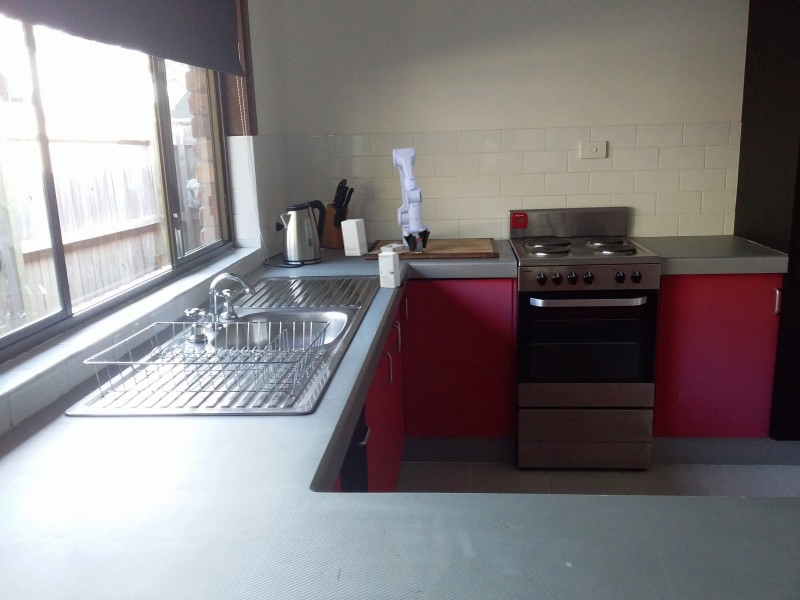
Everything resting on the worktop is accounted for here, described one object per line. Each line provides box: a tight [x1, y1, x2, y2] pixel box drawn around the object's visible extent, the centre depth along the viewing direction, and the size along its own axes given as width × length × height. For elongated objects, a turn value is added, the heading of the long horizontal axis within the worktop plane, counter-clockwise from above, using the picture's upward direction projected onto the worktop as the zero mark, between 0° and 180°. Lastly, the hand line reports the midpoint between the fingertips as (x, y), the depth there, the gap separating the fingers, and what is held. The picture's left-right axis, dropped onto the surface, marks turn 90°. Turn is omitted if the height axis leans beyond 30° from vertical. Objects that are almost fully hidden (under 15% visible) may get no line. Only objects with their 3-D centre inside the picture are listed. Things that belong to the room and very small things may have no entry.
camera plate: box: [366, 241, 410, 256], centre depth 307 cm, size 18×14×3 cm
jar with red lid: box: [415, 238, 424, 252], centre depth 300 cm, size 4×4×6 cm
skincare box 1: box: [340, 218, 369, 257], centre depth 308 cm, size 8×7×16 cm
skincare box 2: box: [378, 252, 401, 289], centre depth 244 cm, size 6×4×12 cm
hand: (418, 249), depth 300 cm, fingers open, 7 cm apart
